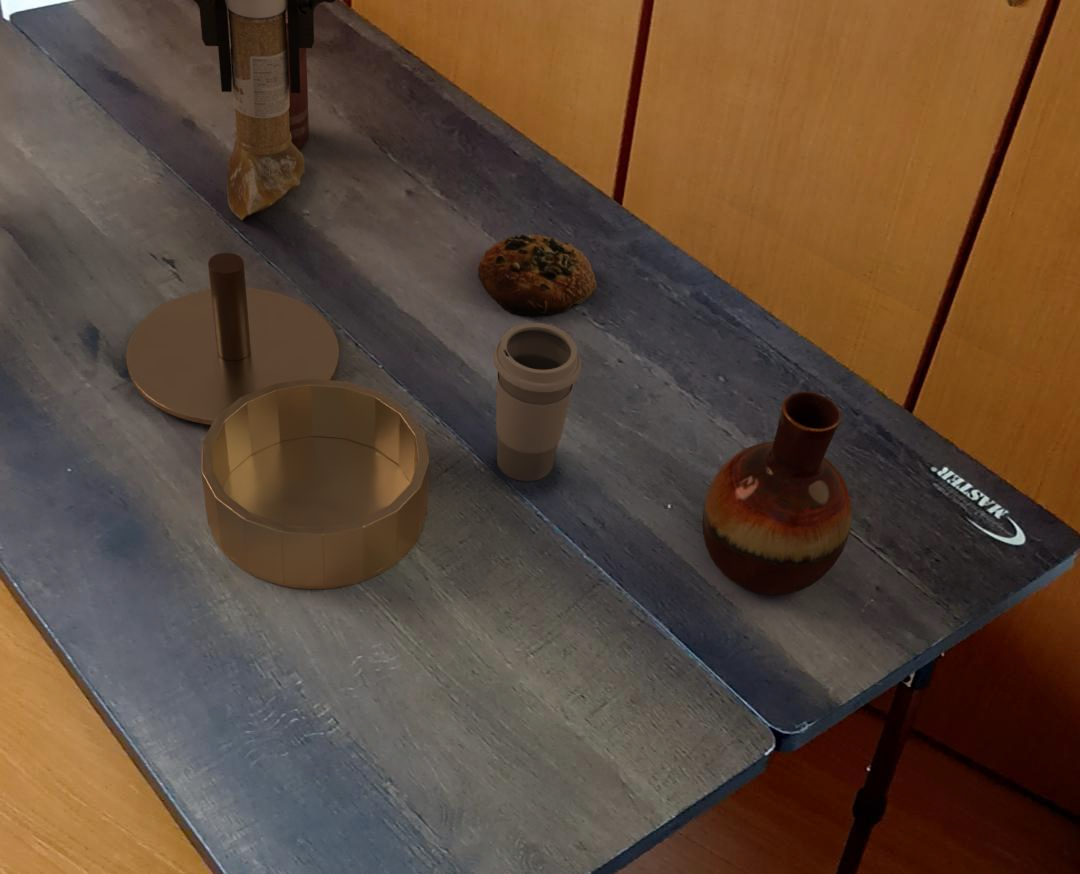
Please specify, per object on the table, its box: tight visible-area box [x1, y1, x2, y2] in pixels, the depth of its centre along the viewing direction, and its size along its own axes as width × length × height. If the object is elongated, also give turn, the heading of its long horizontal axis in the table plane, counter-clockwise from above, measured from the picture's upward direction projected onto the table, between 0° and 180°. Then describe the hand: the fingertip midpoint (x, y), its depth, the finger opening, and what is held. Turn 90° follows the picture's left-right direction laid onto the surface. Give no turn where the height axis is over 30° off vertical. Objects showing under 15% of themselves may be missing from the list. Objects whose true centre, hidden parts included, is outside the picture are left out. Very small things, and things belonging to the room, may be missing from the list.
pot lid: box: [125, 252, 340, 426], centre depth 109 cm, size 18×18×10 cm
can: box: [285, 8, 310, 151], centre depth 132 cm, size 6×6×14 cm
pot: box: [200, 379, 430, 590], centre depth 100 cm, size 17×17×6 cm
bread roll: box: [477, 233, 597, 316], centre depth 124 cm, size 11×11×5 cm
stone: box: [226, 140, 306, 221], centre depth 128 cm, size 7×6×15 cm
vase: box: [702, 391, 853, 596], centre depth 98 cm, size 11×11×15 cm
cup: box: [492, 322, 582, 482], centre depth 104 cm, size 7×7×12 cm
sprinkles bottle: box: [225, 0, 292, 154], centre depth 102 cm, size 5×5×14 cm
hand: (261, 83), depth 103 cm, fingers closed on sprinkles bottle, 4 cm apart
